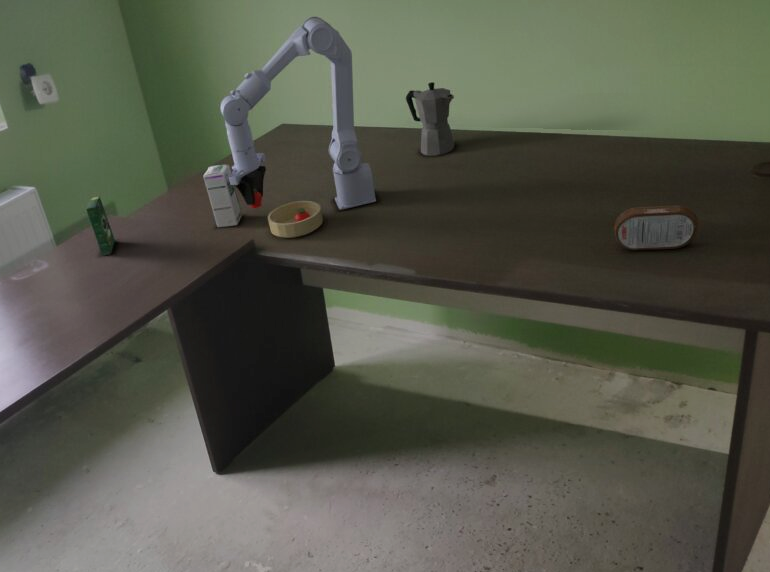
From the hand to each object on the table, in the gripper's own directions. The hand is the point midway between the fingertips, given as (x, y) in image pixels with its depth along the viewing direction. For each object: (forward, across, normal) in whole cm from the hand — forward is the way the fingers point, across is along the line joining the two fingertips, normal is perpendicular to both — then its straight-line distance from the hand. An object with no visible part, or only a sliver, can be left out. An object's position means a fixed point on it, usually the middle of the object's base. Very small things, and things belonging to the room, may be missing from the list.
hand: (255, 200), depth 216 cm
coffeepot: (+7, -48, +29) cm, 57 cm away
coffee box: (+7, +15, -39) cm, 43 cm away
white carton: (+7, -2, -11) cm, 13 cm away
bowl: (+7, 0, +10) cm, 13 cm away
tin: (+8, +5, +94) cm, 94 cm away
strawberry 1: (+1, 0, 0) cm, 1 cm away
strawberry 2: (+6, 0, +13) cm, 14 cm away
